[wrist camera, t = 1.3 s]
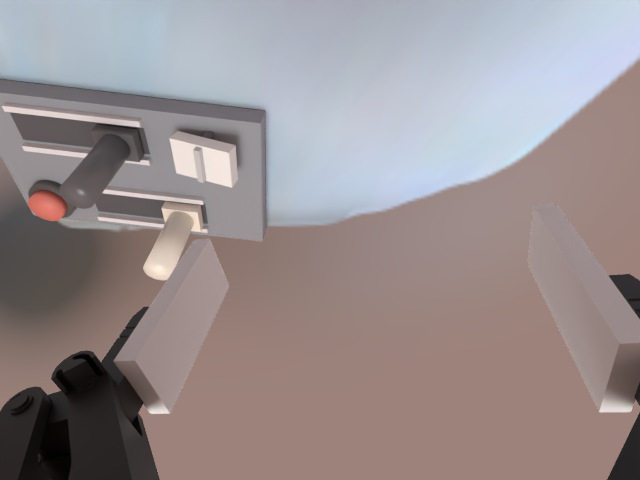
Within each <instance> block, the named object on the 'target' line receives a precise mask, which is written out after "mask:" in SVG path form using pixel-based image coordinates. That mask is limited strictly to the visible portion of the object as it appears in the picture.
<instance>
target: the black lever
mask: <svg viewBox="0 0 640 480" xmlns="http://www.w3.org/2000/svg"><path fill="white" fill-rule="evenodd" d="M91 134H92V137H93V140H94V143H95V146H94V148H93V149H92V150H91V151H90V152H89V153H88V155H87V156H86V157H85V158H84V159H83V160H82V162H81V163H80V164H79V165H78V166H77V167H76V169H75V170H74V171H73V172H72V173H71V174H70V176H69V177H68V178H67V179H66V180H65V181H64V183H63V184H62V185H61V186H60V189H59V191H60V194H61V196H62V197H63V199H64V200H65V201H66V202H68V203H69V204H71V205H73V206H75V207H77V208H82V209H88V208H91V207H92V206H93V205H94V204H95V202H96V201H97V200H98V198H99V197H100V195H101V194H102V193H103V191H104V190H105V189H106V187H107V186H108V184H109V183H110V182H111V180H112V179H113V177H114V176H115V175H116V173H117V172H118V171H119V169H120V168H121V166H122V165H123V164H124V162H125V161H133V162H140V161H141V160H142V158H143V157H144V153H143V149H142V145H141V141H140V137H139V134H138V130H137V129H130V128H122V127H113V126H105V125H95V126H94V127H93V129H92V130H91Z"/></svg>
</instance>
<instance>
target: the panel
mask: <svg viewBox="0 0 640 480" xmlns="http://www.w3.org/2000/svg"><path fill="white" fill-rule="evenodd" d="M95 125H105V126H113V127H122V128H130V129H137V130H138V134H139V137H140V141H141V145H142V149H143V153H144V157H143V158H142V160H141V161H140V162H133V161H125V162H124V164H123V165H122V166H121V168H120V169H119V171H118V172H117V173H116V175H115V176H114V177H113V179H112V180H111V182H110V183H109V184H108V186H107V187H106V189H105V190H104V191H103V193H102V194H101V195H100V197H99V198H98V200H97V201H96V202H95V204H94V205H93V206H92V207H91V208H88V209H82V208H77V207H75V206H73V205H71V204H69V203H68V202H66V201H65V200H64V199H63V197H62V196H61V194H60V191H59V189H60V186H61V185H62V184H63V183H64V181H65V180H66V179H67V178H68V177H69V176H70V174H71V173H72V172H73V171H74V170H75V169H76V167H77V166H78V165H79V164H80V163H81V162H82V160H83V159H84V158H85V157H86V156H87V155H88V153H89V152H90V151H91V150H92V149H93V148H94V146H95V143H94V140H93V137H92V134H91V130H92V129H93V127H94V126H95ZM177 131H180V132H184V133H188V134H192V135H196V136H200V137H204V138H208V139H212V140H216V141H220V142H224V143H229V144H233V145H236V159H237V173H238V180H237V182H236V183H235V184H234V186H233V187H232V188H231V187H227V186H224V185H220V184H216V183H212V182H208V181H205V182H204V183H202V182H198V179H197V178H193V177H189V176H185V175H181V174H177V173H176V169H175V164H174V159H173V154H172V149H171V144H170V139H169V138H170V137H171V136H172V135H173V134H174V133H176V132H177ZM0 156H1V157H2V159H3V161H4V163H5V165H6V166H7V168H8V170H9V172H10V174H11V175H12V177H13V179H14V181H15V182H16V184H17V186H18V188H19V190H20V192H21V193H22V195H23V197H24V199H25V200H26V202H27V204H28V206H29V208H30V209H31V211H32V213H33V215H37V216H39V217H41V218H43V219H46V220H50V221H58V220H60V219H61V218H63V219H72V220H80V221H89V222H98V223H106V224H115V225H124V226H132V227H141V228H150V229H158V230H162V229H163V227H164V225H165V220H164V217H163V213H162V209H161V208H162V206H163V204H164V203H165V201H166V202H175V203H184V204H192V205H201V212H202V218H203V224H204V225H203V227H202V230H201V232H198V231H191V232H190V233H193V234H202V235H211V236H219V237H228V238H237V239H246V240H254V241H263V238H264V234H265V230H266V145H265V111H264V110H256V109H247V108H239V107H230V106H222V105H213V104H205V103H196V102H188V101H180V100H171V99H163V98H154V97H146V96H137V95H129V94H121V93H112V92H104V91H95V90H87V89H78V88H70V87H61V86H53V85H45V84H36V83H28V82H19V81H11V80H2V79H0Z"/></svg>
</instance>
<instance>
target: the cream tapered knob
mask: <svg viewBox="0 0 640 480" xmlns="http://www.w3.org/2000/svg"><path fill="white" fill-rule="evenodd" d="M161 209H162V213H163V217H164V220H165V225H164V227H163V229H162V231H161V233H160V235H159V237H158V239H157V241H156V243H155V245H154V247H153V249H152V251H151V253H150V255H149V257H148V259H147V261H146V263H145V265H144V267H143V269H144V271H145V272H146V274H147V275H148V276H150V277H152V278H154V279H157V280H168V278H169V277H170V275H171V274H172V272H173V271H174V269H175V267H176V265H177V262H178V260H179V257H180V255H181V253H182V251H183V248H184V246H185V244H186V241H187V239H188V237H189V234H190V232H191V231H198V232H201V230H202V227H203V225H204V224H203V218H202V212H201V205H192V204H184V203H175V202H166V201H165V203H164V204H163V206H162V208H161Z"/></svg>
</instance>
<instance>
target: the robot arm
mask: <svg viewBox="0 0 640 480" xmlns="http://www.w3.org/2000/svg"><path fill="white" fill-rule="evenodd" d="M528 266H529V268H530V270H531V272H532V275H533V277H534V279H535V281H536V283H537V285H538V287H539V289H540V291H541V293H542V295H543V297H544V299H545V301H546V303H547V306H548V307H549V309H550V312H551V314H552V316H553V318H554V320H555V322H556V324H557V326H558V328H559V330H560V332H561V334H562V337H563V339H564V341H565V343H566V345H567V347H568V349H569V351H570V353H571V355H572V357H573V359H574V361H575V363H576V366H577V368H578V370H579V372H580V374H581V376H582V378H583V380H584V382H585V384H586V386H587V388H588V390H589V393H590V395H591V397H592V399H593V401H594V403H595V405H596V407H597V409H598V411H599V412H631V410H632V407H633V404H634V402H635V399H636V400H637V402H638V404H639V405H640V281H639V280H638V279H636V278H635V277H633V276H631V275H630V274H625V275H610V276H608V275H607V273H606V272H605V270H604V269H603V268H602V266H601V265H600V263H599V262H598V261H597V260H596V258H595V257H594V255H593V254H592V252H591V251H590V250H589V248H588V247H587V245H586V244H585V243H584V241H583V240H582V238H581V237H580V236H579V234H578V233H577V232H576V230H575V229H574V227H573V226H572V225H571V223H570V222H569V220H568V219H567V218H566V216H565V215H564V214H563V212H562V211H561V210H560V208H559V207H558V205H557V204H556V203H554V204H545V205H534V206H533V215H532V225H531V235H530V244H529V254H528ZM228 288H229V284H228V282H227V279H226V277H225V274H224V272H223V270H222V267H221V265H220V262H219V260H218V258H217V255H216V253H215V250H214V248H213V245H212V243H211V241H210V239H200V240H194V241H193V242H192V244H191V245H190V247H189V248H188V250H187V251H186V253H185V254H184V256H183V257H182V259H181V260H180V262H179V263H178V265H177V266H176V268H175V269H174V271H173V272H172V274H171V275H170V277H169V278H168V280H167V281H166V283H165V284H164V286H163V287H162V289H161V290H160V292H159V293H158V295H157V296H156V298H155V299H154V301H153V302H152V304H151V305H150V307H143V308H142V309H141V310H140V311H139V312H138V313H137V314H136V315H134V316H133V317H132V319H131V320H130V322H129V323H128V324H127V326H126V327H125V328H126V329H124V330H123V332H122V333H121V334H120V338H118V339H117V340H116V342H115V343H114V345H113V346H112V347H111V349H110V350H109V352H108V353H107V355H106V356H105V357H104V359H103V360H102V362H100V361H99V360H98V358H97V357H96V356H95V354H94V353H93V352H91V351H80V352H78V353H75V354H73V355H71V356H69V357H68V358H66V359H65V360H63V361H62V362H61V363H60V364H59V365H58V366H57V367H56V369H55V370H54V372H53V374H52V378H51V379H52V380H53V382H54V383H55V384H56V385H57V386H58V387H59V388H60V389H61V391H59V392H56V393H53V394H49V395H47V394H46V393H45V392H44V391H43V390H42V389H41V388H40V387H31V388H27V389H25V390H23V391H21V392H19V393H18V394H16V395H15V396H13V397H12V398H11V399H10V400H9V401H8V402H7V403H6V404H5V405H4V406H3V408H2V410H1V411H0V480H160V479H159V476H158V472H157V469H156V466H155V462H154V459H153V455H152V452H151V448H150V445H149V441H148V438H147V434H146V431H145V428H144V424H143V421H142V418H141V417H140V415H139V414H138V412H139V410H140V408H141V407H142V405H143V404H144V405H145V407H146V408H147V409H148V411H149V412H150V413H151V414H170V413H171V411H172V409H173V407H174V404H175V403H176V400H177V398H178V396H179V394H180V391H181V390H182V387H183V385H184V383H185V381H186V379H187V377H188V374H189V372H190V370H191V368H192V365H193V364H194V361H195V359H196V357H197V355H198V353H199V350H200V348H201V346H202V344H203V342H204V340H205V338H206V335H207V333H208V331H209V329H210V327H211V325H212V323H213V320H214V318H215V316H216V314H217V311H218V310H219V307H220V305H221V303H222V301H223V299H224V297H225V294H226V292H227V290H228ZM607 480H640V413H639V415H638V417H637V419H636V421H635V423H634V425H633V428H632V430H631V432H630V434H629V436H628V438H627V440H626V442H625V444H624V446H623V448H622V450H621V452H620V454H619V457H618V459H617V461H616V463H615V465H614V467H613V469H612V471H611V473H610V475H609V477H608V479H607Z"/></svg>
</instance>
